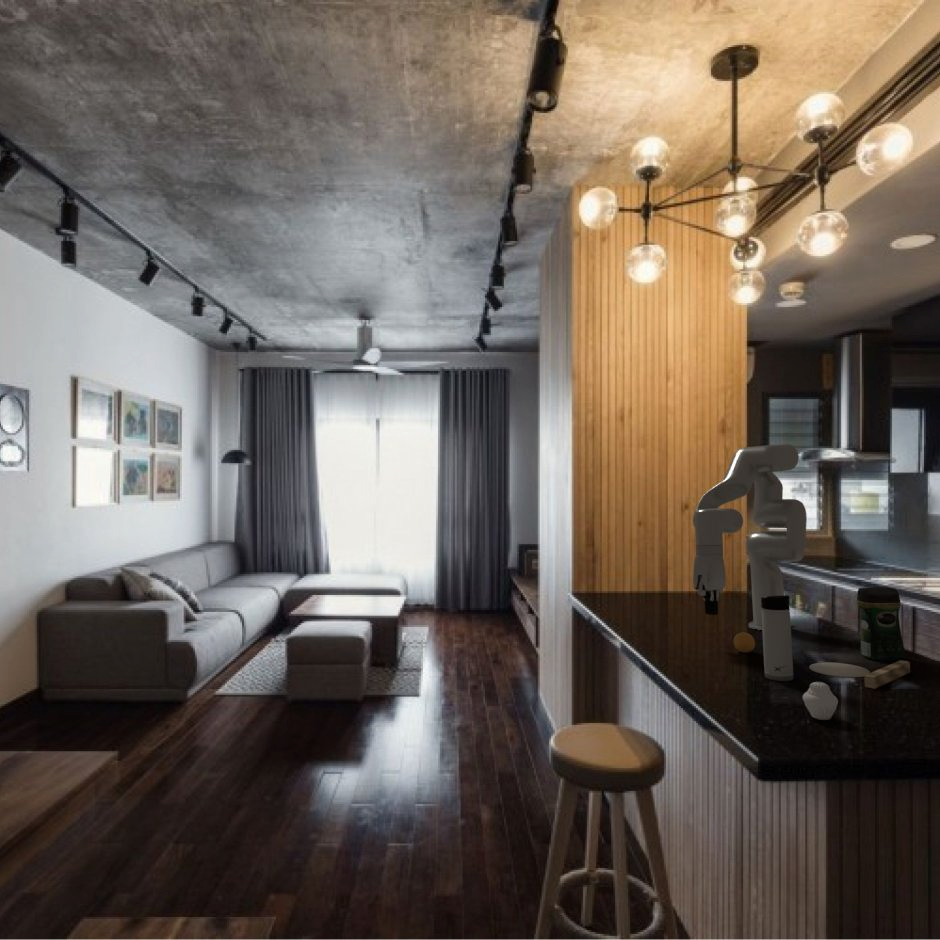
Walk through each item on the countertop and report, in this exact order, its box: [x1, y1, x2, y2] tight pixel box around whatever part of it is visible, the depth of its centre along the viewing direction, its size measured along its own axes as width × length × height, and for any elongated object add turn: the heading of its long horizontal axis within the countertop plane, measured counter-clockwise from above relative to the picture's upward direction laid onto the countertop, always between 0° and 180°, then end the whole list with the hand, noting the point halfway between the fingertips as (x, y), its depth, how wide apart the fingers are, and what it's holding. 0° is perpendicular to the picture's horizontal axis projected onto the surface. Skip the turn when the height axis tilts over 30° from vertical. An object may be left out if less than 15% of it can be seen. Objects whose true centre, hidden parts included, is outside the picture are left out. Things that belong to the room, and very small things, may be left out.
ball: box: [733, 631, 756, 654], centre depth 178 cm, size 6×6×6 cm
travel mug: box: [761, 594, 794, 682], centre depth 153 cm, size 6×7×20 cm
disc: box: [808, 661, 871, 678], centre depth 158 cm, size 13×13×1 cm
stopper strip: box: [863, 660, 911, 689], centre depth 149 cm, size 20×2×2 cm, turn 126°
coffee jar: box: [856, 586, 906, 662], centre depth 168 cm, size 10×8×19 cm
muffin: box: [802, 681, 839, 721], centre depth 126 cm, size 6×6×7 cm
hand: (711, 614), depth 186 cm, fingers closed
